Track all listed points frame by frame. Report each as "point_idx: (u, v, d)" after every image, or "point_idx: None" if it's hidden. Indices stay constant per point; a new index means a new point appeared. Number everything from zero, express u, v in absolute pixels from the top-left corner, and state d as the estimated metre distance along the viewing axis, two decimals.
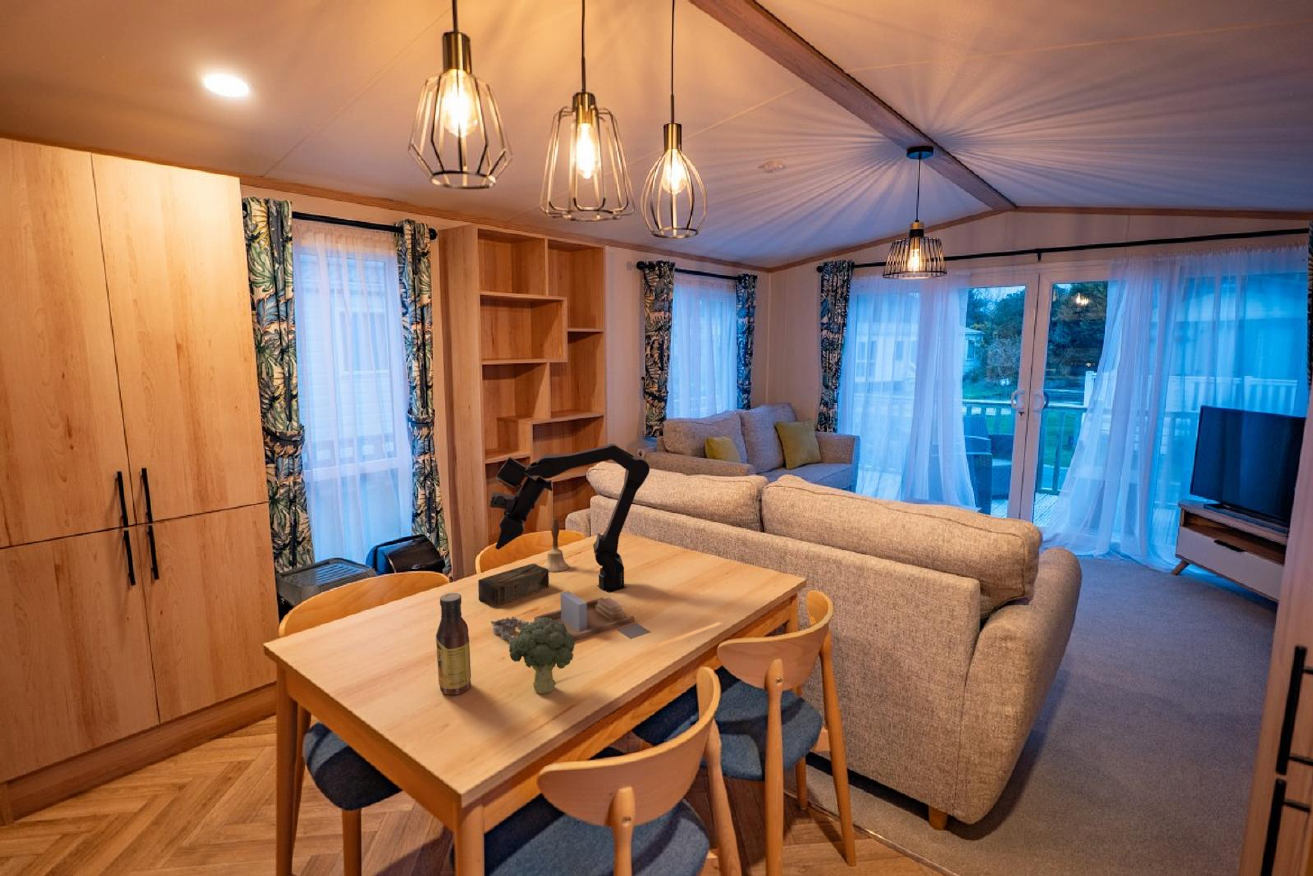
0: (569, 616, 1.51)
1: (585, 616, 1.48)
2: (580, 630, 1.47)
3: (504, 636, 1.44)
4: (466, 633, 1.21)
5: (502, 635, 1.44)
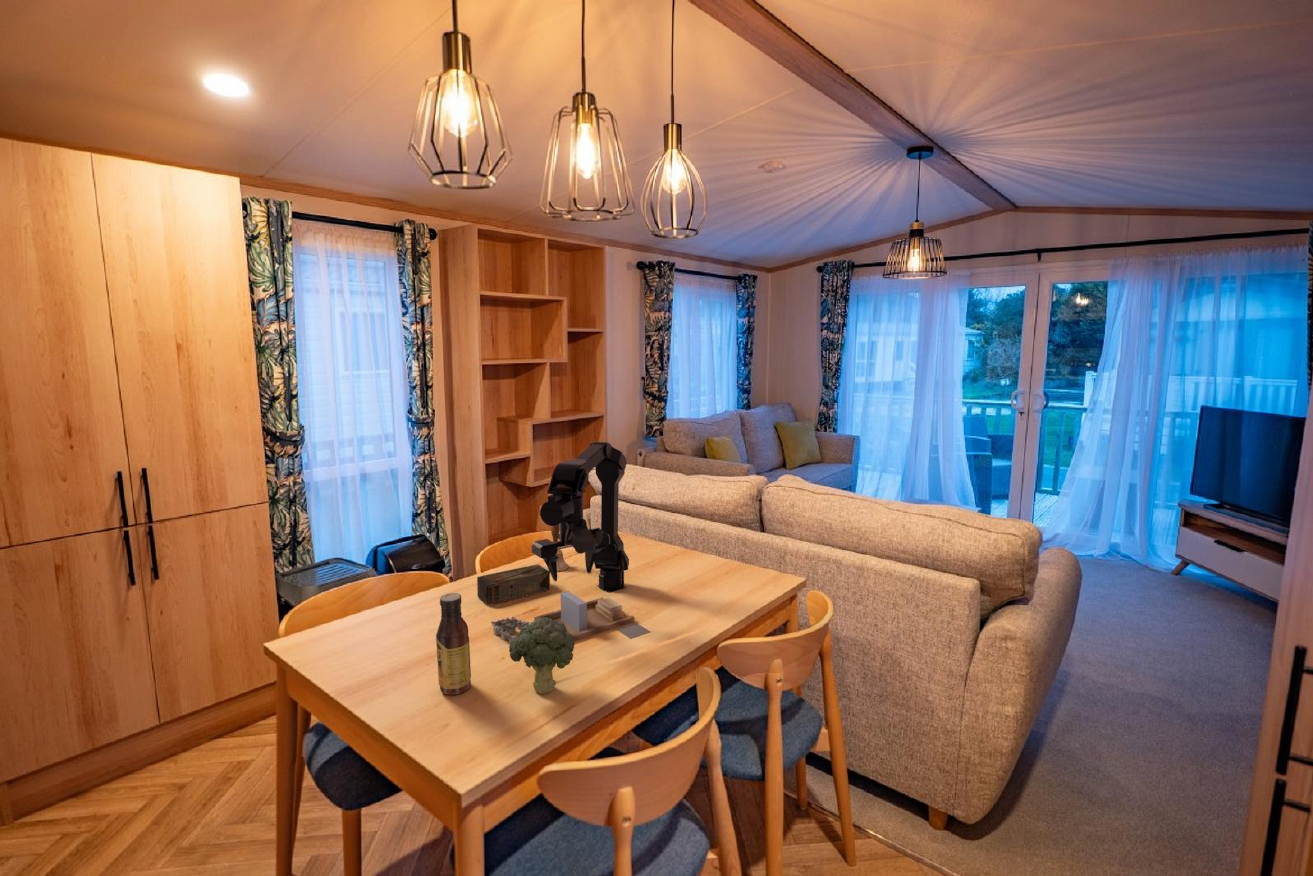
0: (569, 616, 1.51)
1: (585, 616, 1.48)
2: (580, 630, 1.47)
3: (504, 636, 1.43)
4: (466, 633, 1.21)
5: (502, 635, 1.43)
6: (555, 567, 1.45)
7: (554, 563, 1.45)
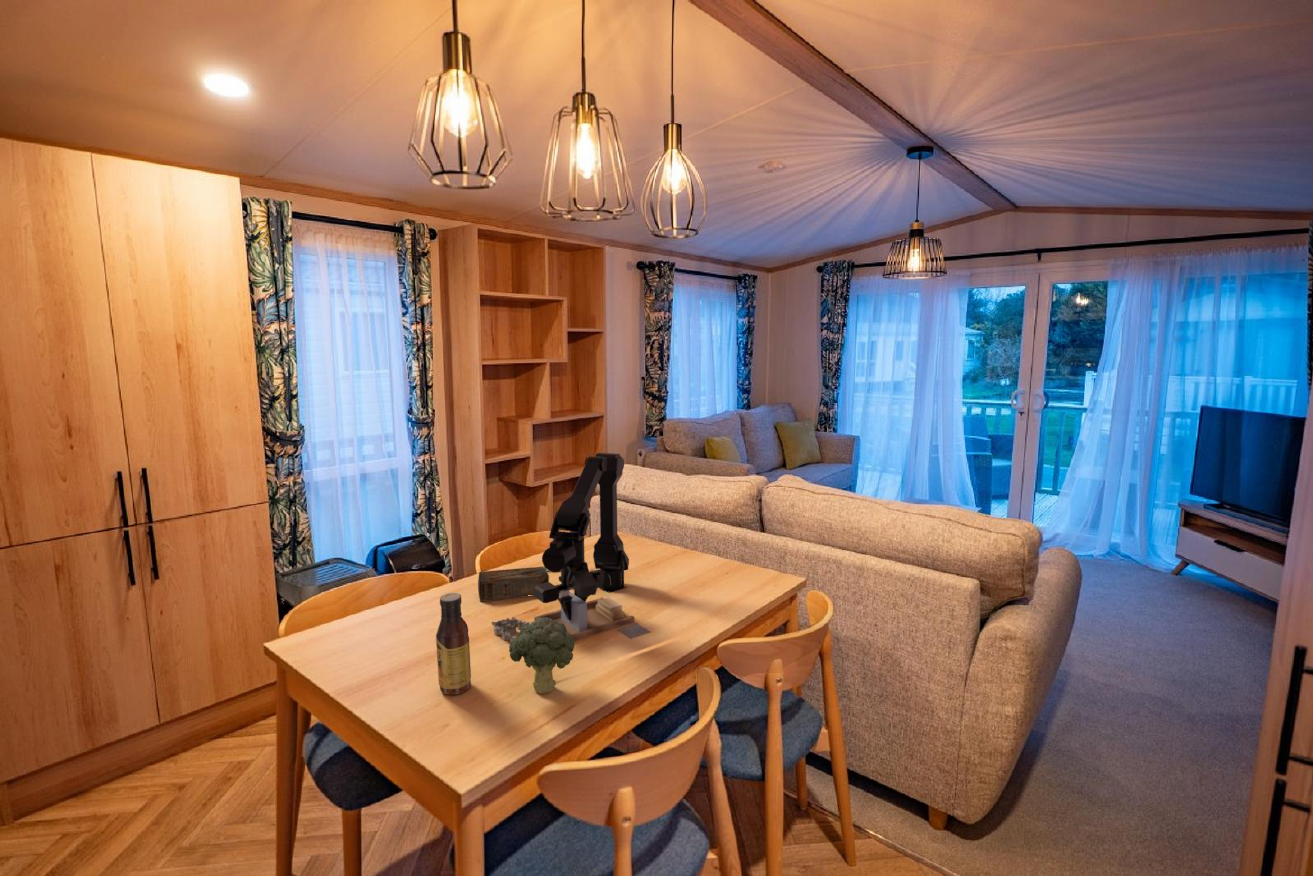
0: None
1: (585, 616, 1.48)
2: (580, 630, 1.47)
3: (505, 637, 1.43)
4: (466, 633, 1.21)
5: (503, 636, 1.43)
6: (569, 607, 1.49)
7: (568, 603, 1.48)
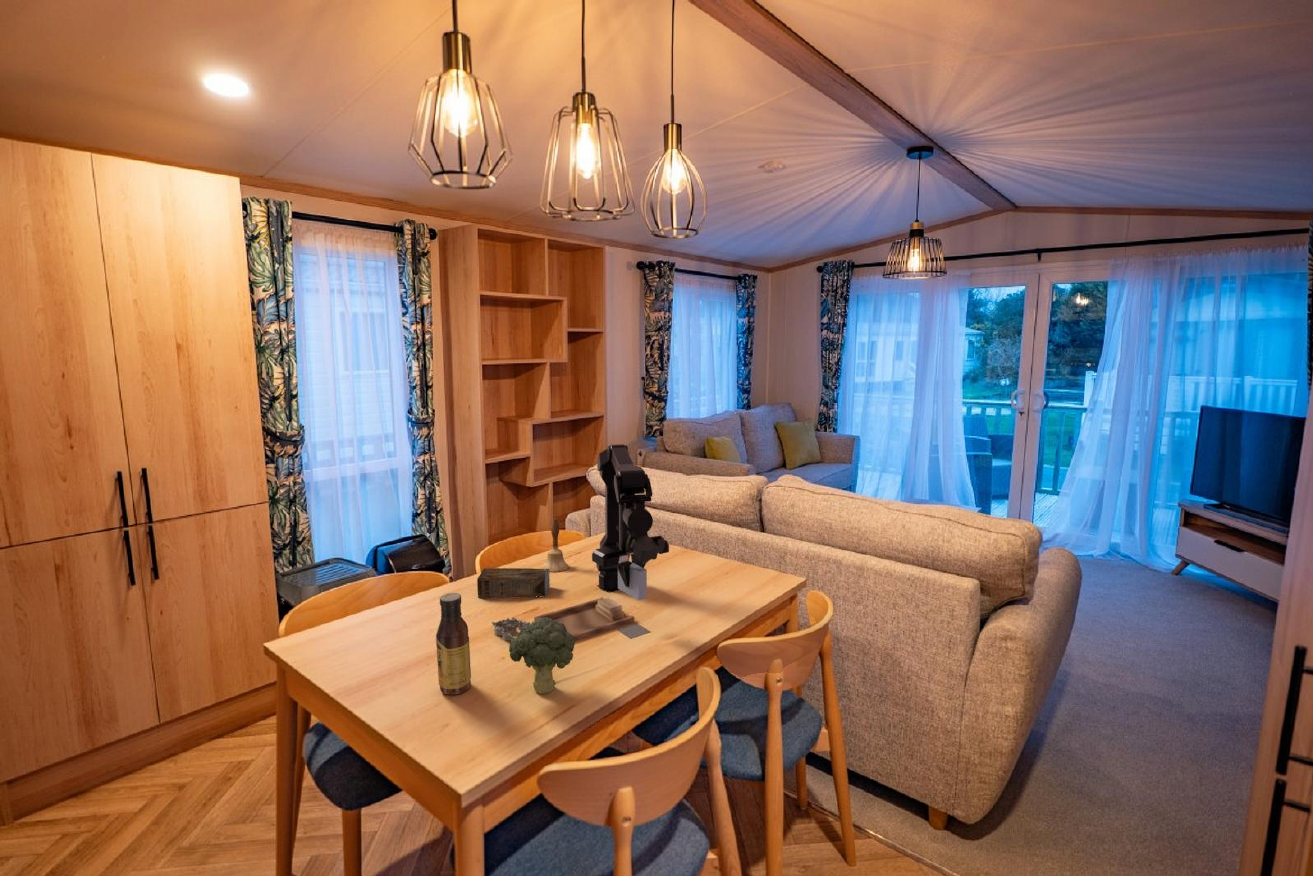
0: None
1: (645, 583, 1.43)
2: (640, 598, 1.43)
3: (506, 637, 1.43)
4: (466, 633, 1.21)
5: (504, 636, 1.43)
6: (628, 573, 1.44)
7: (627, 569, 1.43)
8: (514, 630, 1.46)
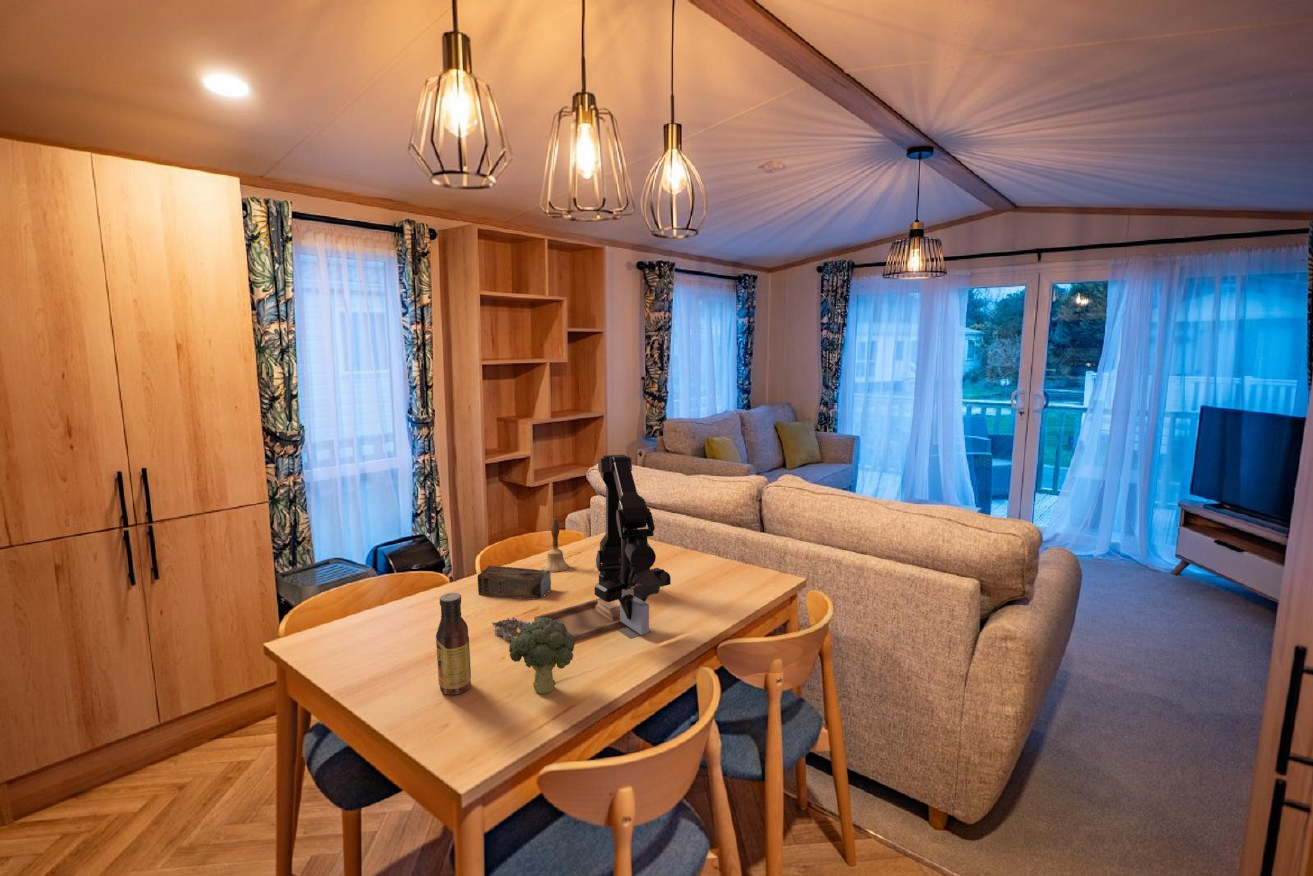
0: None
1: (647, 618, 1.44)
2: (642, 632, 1.44)
3: (506, 637, 1.43)
4: (466, 633, 1.21)
5: (504, 636, 1.43)
6: (630, 606, 1.45)
7: (629, 602, 1.45)
8: (514, 630, 1.46)
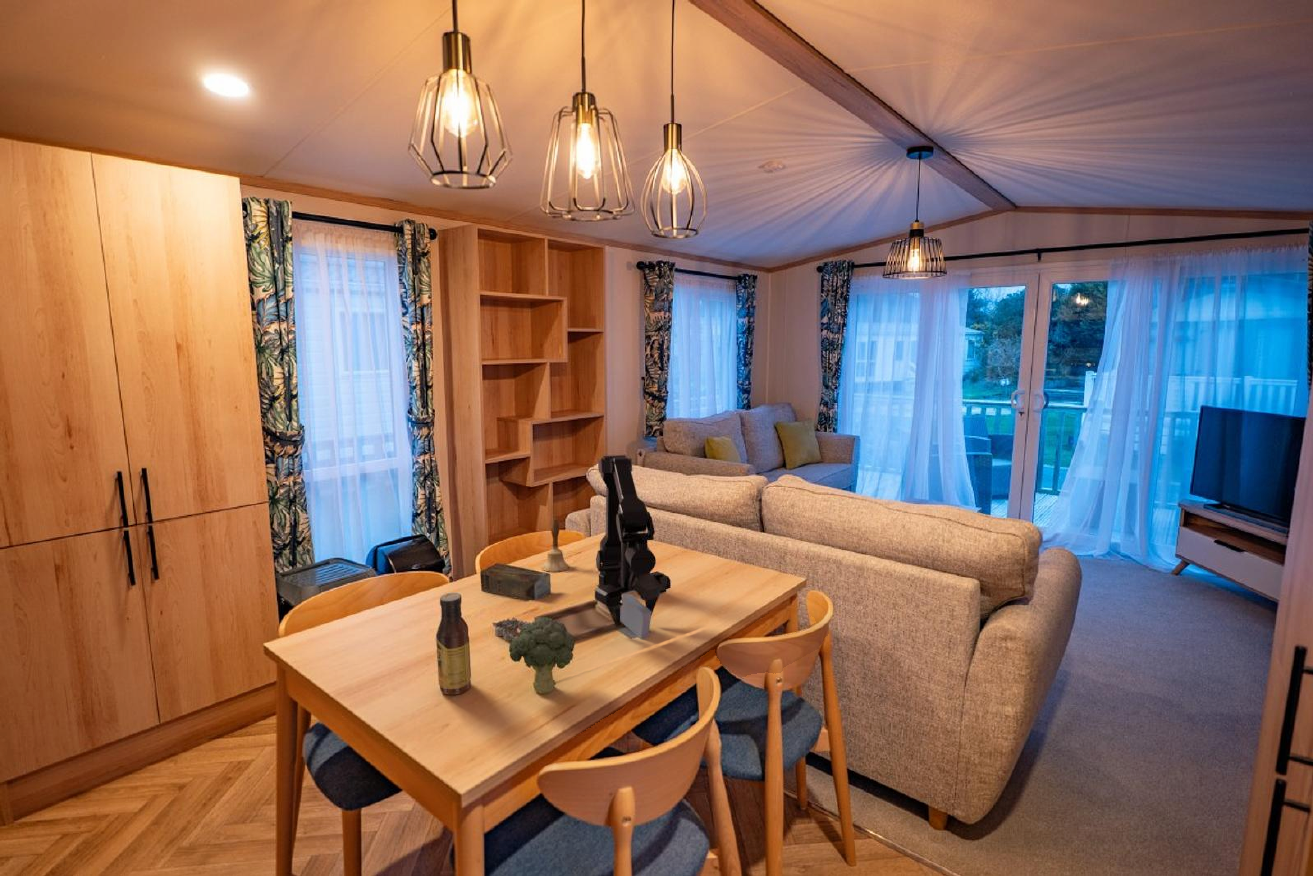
0: (630, 621, 1.47)
1: (648, 624, 1.44)
2: (642, 637, 1.44)
3: (507, 637, 1.43)
4: (466, 633, 1.21)
5: (505, 636, 1.43)
6: (618, 613, 1.43)
7: (618, 609, 1.43)
8: (515, 630, 1.46)
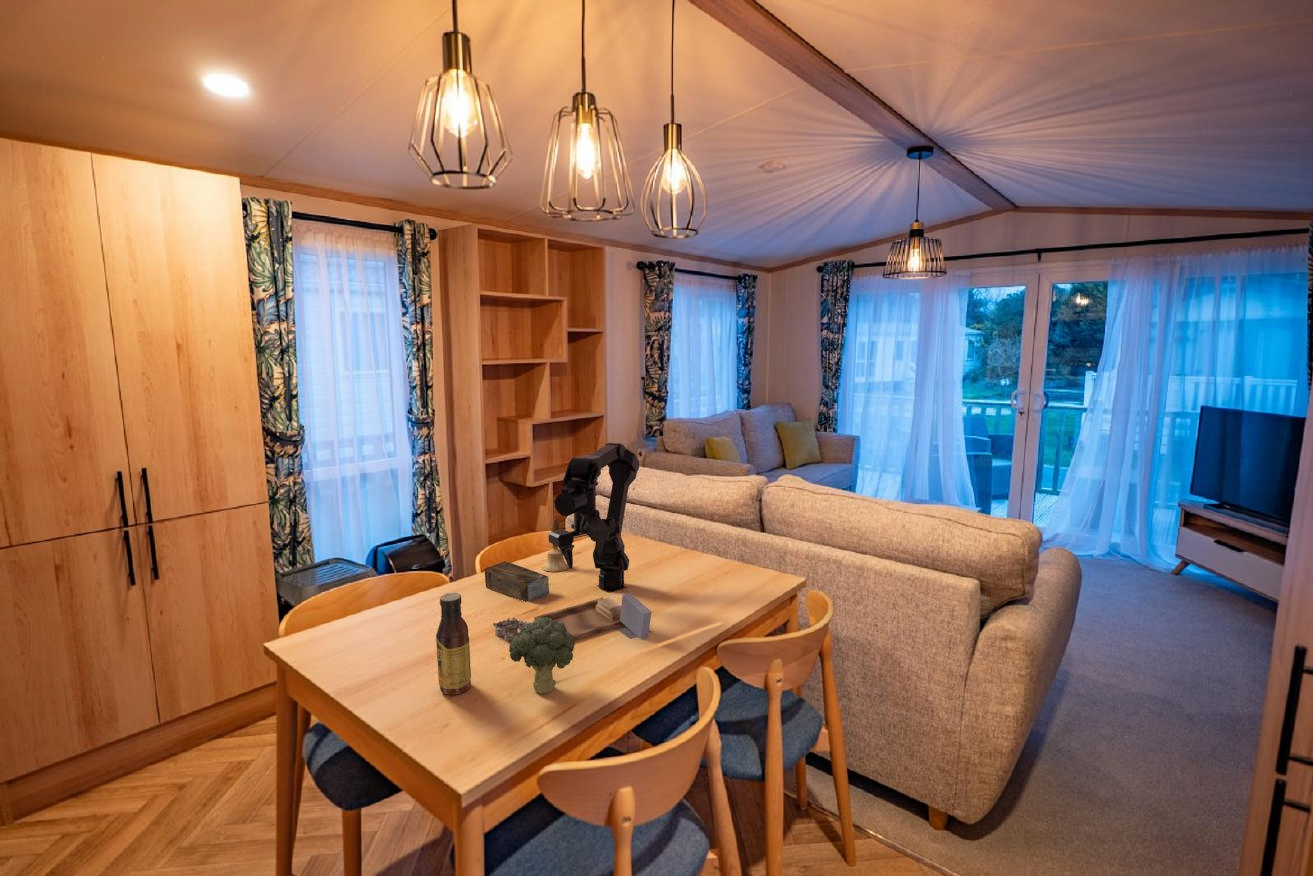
0: (630, 621, 1.47)
1: (648, 624, 1.44)
2: (642, 637, 1.44)
3: (507, 637, 1.43)
4: (466, 633, 1.21)
5: (505, 636, 1.43)
6: (571, 555, 1.55)
7: (570, 551, 1.54)
8: (515, 630, 1.46)
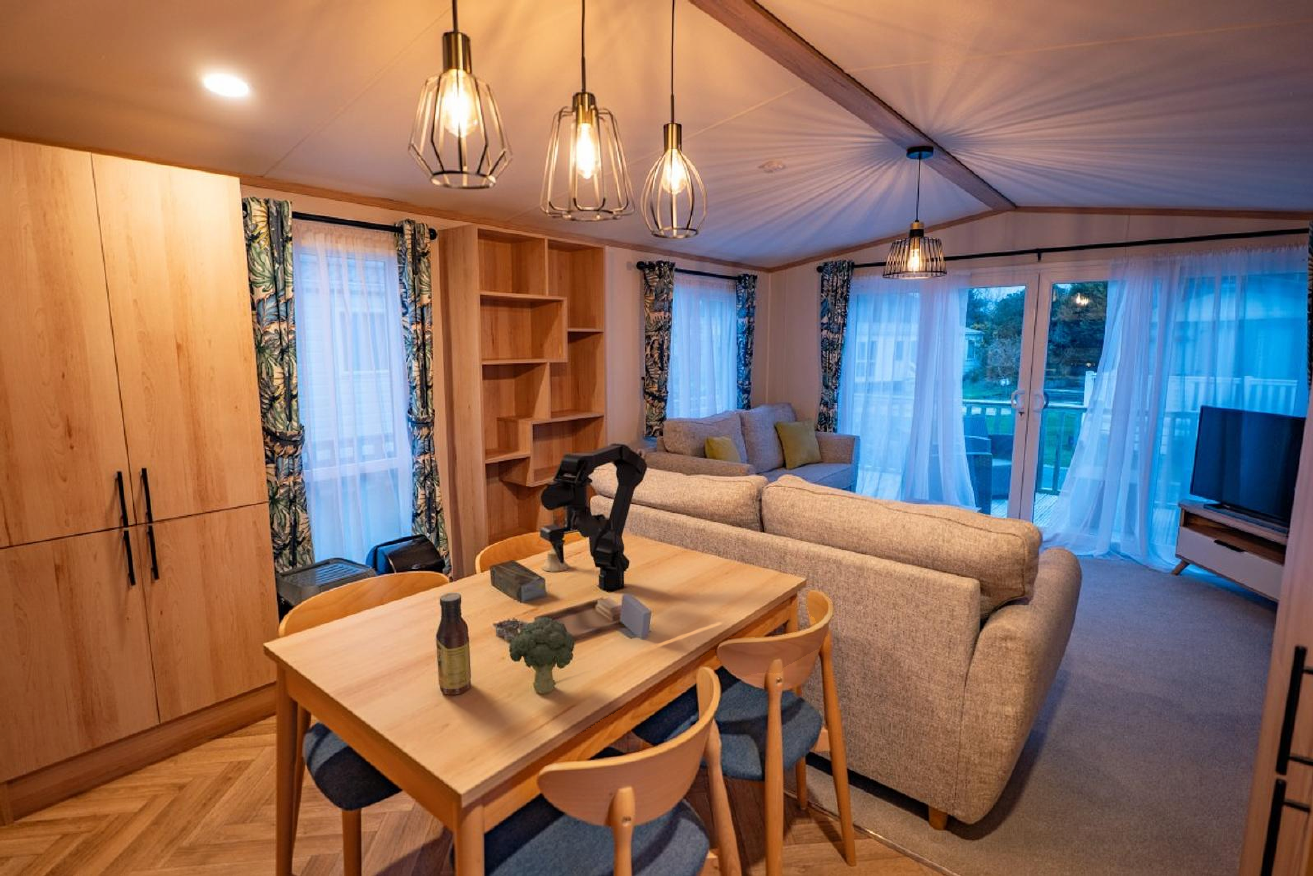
0: (630, 621, 1.47)
1: (648, 624, 1.44)
2: (642, 637, 1.44)
3: (508, 638, 1.43)
4: (466, 633, 1.21)
5: (506, 637, 1.43)
6: (562, 550, 1.57)
7: (561, 546, 1.56)
8: (516, 631, 1.46)
